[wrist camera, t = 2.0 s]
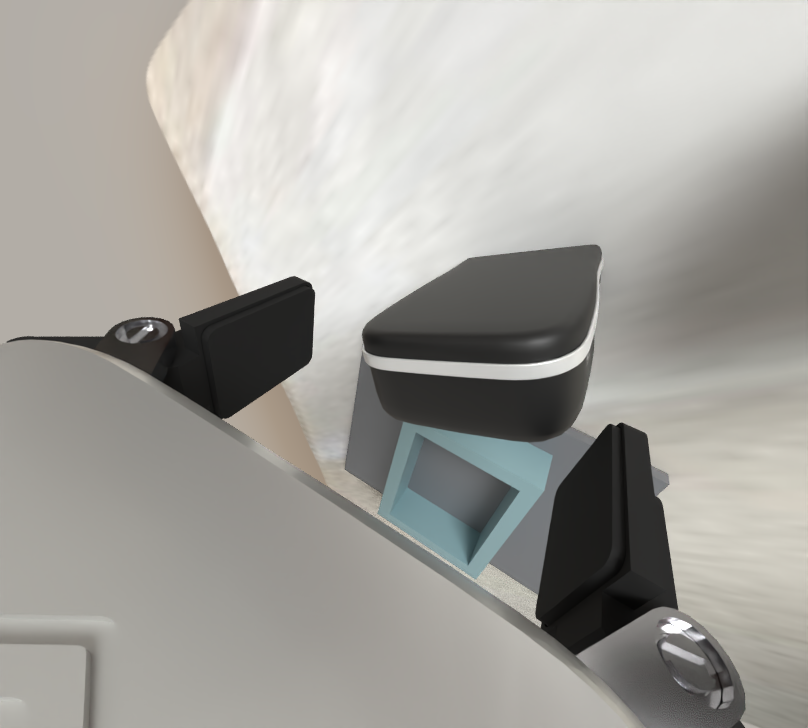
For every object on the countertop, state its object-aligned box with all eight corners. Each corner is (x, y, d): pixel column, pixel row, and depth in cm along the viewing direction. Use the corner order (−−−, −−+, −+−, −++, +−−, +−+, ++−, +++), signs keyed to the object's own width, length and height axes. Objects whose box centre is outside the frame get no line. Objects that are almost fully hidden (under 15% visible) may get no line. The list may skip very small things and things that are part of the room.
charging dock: (667, 474, 19) (675, 529, 16) (543, 587, 29) (534, 635, 26) (371, 329, 25) (338, 351, 22) (349, 464, 34) (324, 491, 32)
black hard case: (470, 321, 21) (362, 435, 12) (463, 257, 19) (332, 336, 11) (604, 319, 17) (582, 481, 9) (608, 240, 16) (587, 341, 7)
